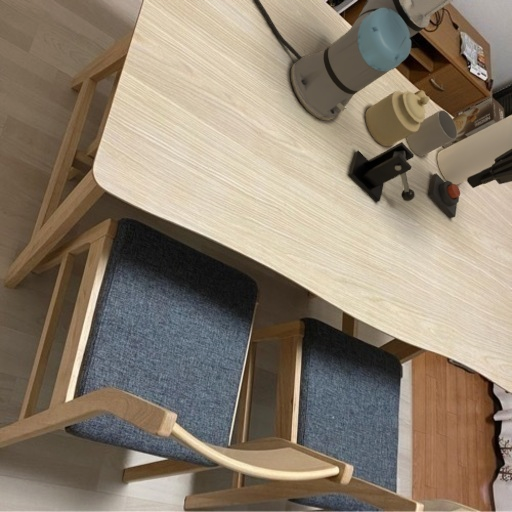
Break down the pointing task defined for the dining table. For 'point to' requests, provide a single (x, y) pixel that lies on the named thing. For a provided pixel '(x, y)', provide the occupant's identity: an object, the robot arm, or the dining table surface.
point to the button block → (442, 195)
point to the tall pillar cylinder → (475, 152)
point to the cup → (433, 133)
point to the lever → (405, 181)
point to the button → (453, 191)
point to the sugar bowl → (396, 116)
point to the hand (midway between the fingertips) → (470, 182)
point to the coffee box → (477, 119)
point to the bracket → (379, 169)
